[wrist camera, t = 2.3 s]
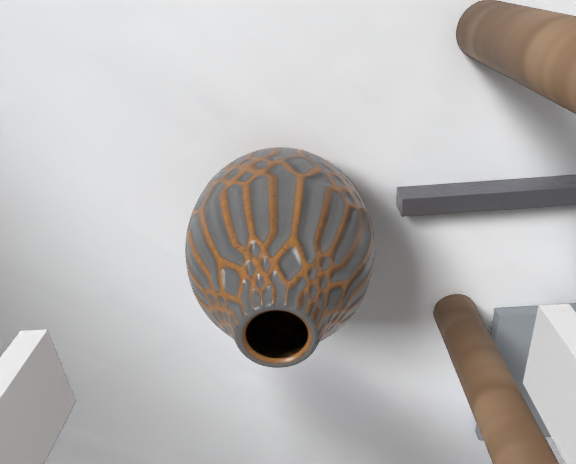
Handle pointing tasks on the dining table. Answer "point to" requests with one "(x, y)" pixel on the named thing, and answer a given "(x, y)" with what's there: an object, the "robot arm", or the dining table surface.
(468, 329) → the posts
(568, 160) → the dining table surface
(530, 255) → the dining table surface
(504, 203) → the grey l-shaped bracket
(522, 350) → the pad
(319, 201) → the vase
